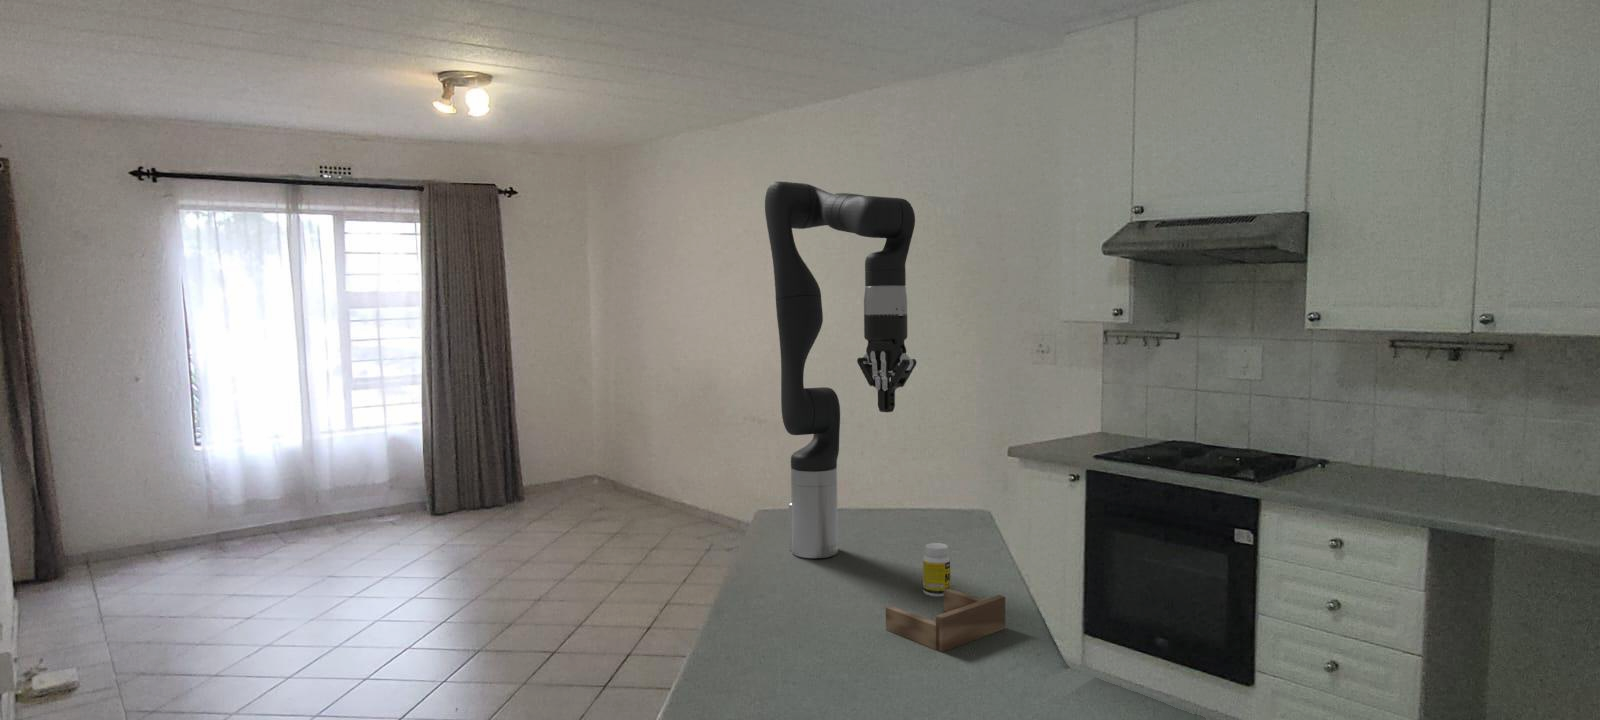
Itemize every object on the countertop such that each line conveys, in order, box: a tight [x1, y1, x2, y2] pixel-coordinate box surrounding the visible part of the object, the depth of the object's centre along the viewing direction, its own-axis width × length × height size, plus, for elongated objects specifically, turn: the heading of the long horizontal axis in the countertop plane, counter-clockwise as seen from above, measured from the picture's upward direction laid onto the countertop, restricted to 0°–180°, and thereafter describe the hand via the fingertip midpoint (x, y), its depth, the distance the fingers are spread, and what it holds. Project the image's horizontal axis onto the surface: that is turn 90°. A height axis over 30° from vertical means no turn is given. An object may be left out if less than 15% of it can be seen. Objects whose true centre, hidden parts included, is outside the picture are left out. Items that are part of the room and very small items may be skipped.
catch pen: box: [885, 588, 1006, 653], centre depth 131 cm, size 12×14×5 cm
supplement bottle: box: [922, 542, 951, 597], centre depth 148 cm, size 5×5×8 cm
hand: (886, 411), depth 148 cm, fingers closed
